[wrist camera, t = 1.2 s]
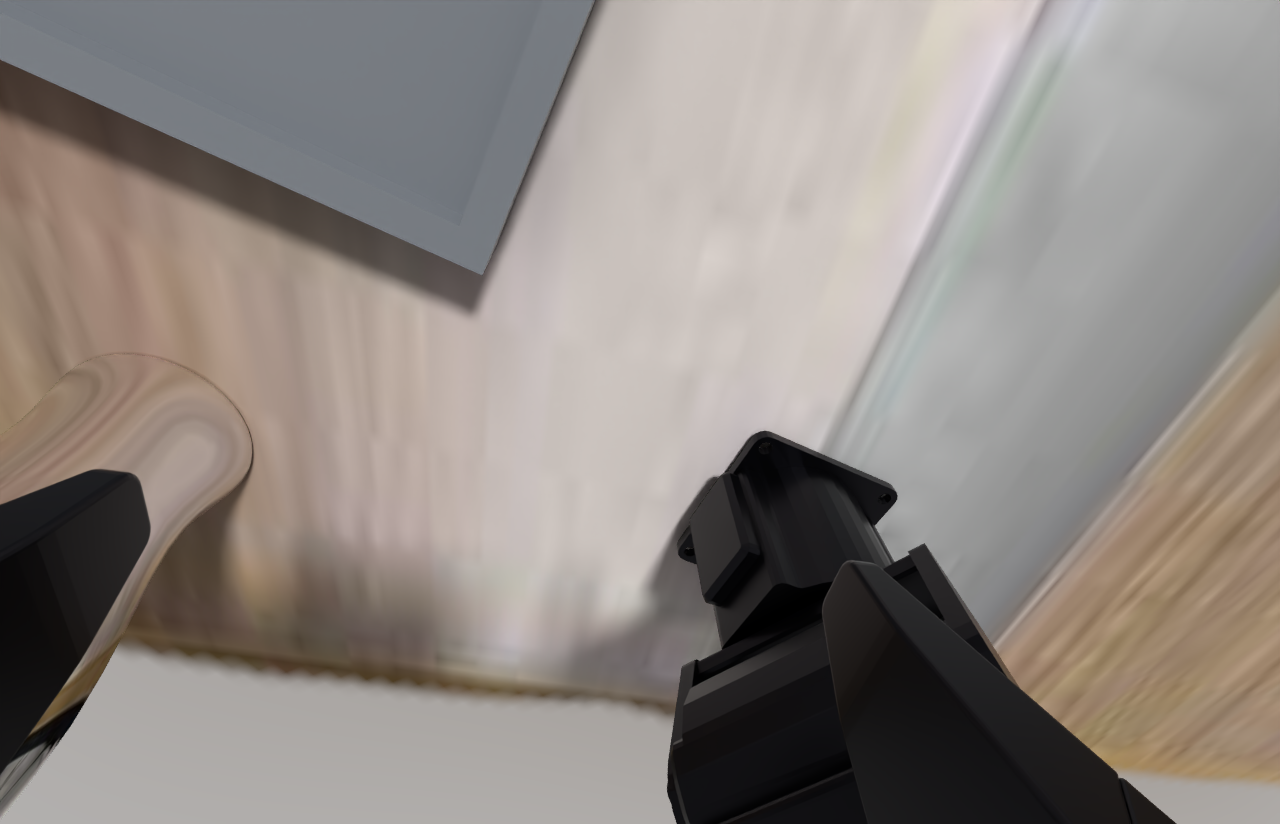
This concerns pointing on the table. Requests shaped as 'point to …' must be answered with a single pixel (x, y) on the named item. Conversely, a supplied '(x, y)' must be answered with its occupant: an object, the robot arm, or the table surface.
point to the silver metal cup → (131, 442)
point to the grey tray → (330, 95)
